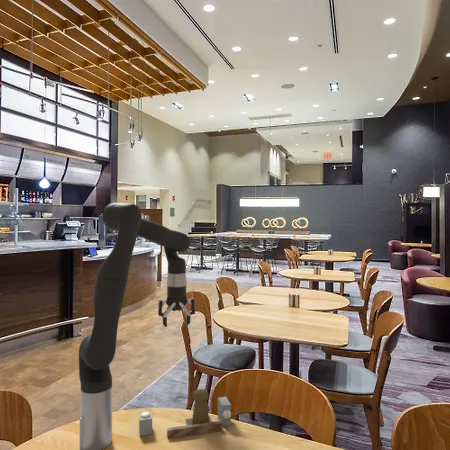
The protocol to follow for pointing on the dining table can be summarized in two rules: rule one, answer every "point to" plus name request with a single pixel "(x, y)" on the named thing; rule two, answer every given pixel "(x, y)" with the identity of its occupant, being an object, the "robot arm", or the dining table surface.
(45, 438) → the dining table surface
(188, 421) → the mat
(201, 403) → the olive pawn
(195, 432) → the handrail
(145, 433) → the near end cabinet
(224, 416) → the far end cabinet
